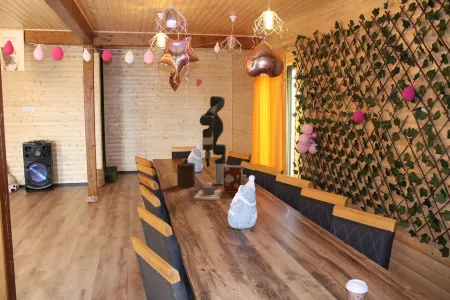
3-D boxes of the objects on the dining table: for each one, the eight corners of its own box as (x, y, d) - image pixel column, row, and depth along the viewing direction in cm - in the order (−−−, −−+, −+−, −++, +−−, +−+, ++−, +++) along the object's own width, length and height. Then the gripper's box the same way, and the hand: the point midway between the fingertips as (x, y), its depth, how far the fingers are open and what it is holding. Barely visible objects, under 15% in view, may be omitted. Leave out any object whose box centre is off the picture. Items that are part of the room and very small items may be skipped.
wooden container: (193, 183, 342) (192, 157, 340) (197, 186, 328) (196, 160, 325) (176, 184, 338) (175, 158, 336) (179, 188, 324) (178, 161, 321)
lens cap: (206, 192, 300) (206, 182, 299) (212, 193, 299) (212, 182, 298) (205, 194, 295) (205, 183, 294) (211, 194, 295) (211, 183, 294)
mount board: (199, 191, 310) (199, 189, 310) (222, 192, 308) (222, 190, 308) (193, 199, 286) (193, 197, 286) (218, 200, 284) (218, 197, 284)
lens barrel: (204, 192, 301) (203, 185, 301) (215, 192, 300) (215, 185, 300) (202, 195, 293) (202, 188, 292) (213, 195, 292) (213, 188, 292)
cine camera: (248, 193, 304) (248, 166, 302) (222, 192, 308) (222, 166, 306) (249, 190, 313) (249, 164, 311) (225, 189, 317) (224, 164, 314)
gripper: (203, 142, 300) (204, 165, 303) (200, 144, 287) (201, 168, 290) (213, 142, 299) (214, 165, 302) (211, 144, 286) (211, 168, 289)
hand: (208, 166), depth 296 cm, fingers closed
